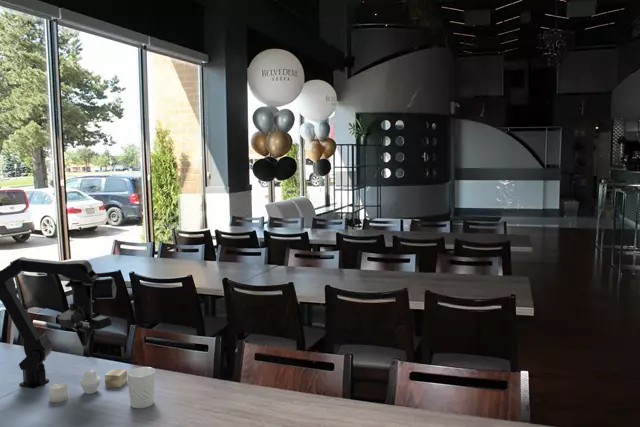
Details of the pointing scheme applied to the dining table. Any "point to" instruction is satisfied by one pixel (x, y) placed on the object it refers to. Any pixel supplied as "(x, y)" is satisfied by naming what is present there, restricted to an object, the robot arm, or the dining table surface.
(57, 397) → the white rounded lump
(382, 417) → the dining table surface
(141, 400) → the white cup
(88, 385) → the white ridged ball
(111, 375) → the maple block
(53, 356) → the dining table surface
